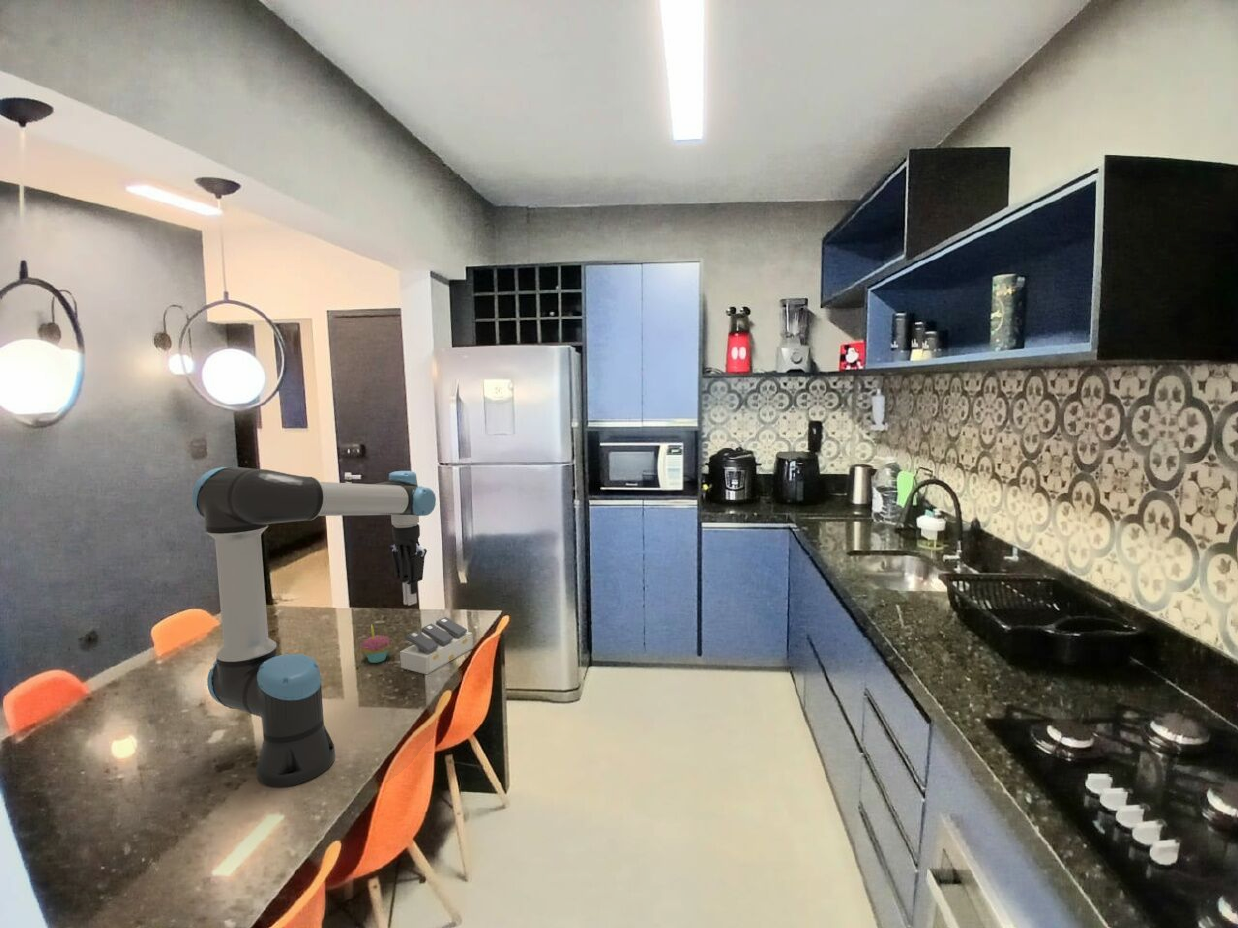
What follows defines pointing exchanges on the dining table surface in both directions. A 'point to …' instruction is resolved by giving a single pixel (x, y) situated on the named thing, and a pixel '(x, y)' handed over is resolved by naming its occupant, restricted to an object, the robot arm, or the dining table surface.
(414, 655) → the switch unit
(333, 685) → the dining table surface
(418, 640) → the rocker
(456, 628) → the rocker
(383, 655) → the cupcake
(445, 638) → the block
